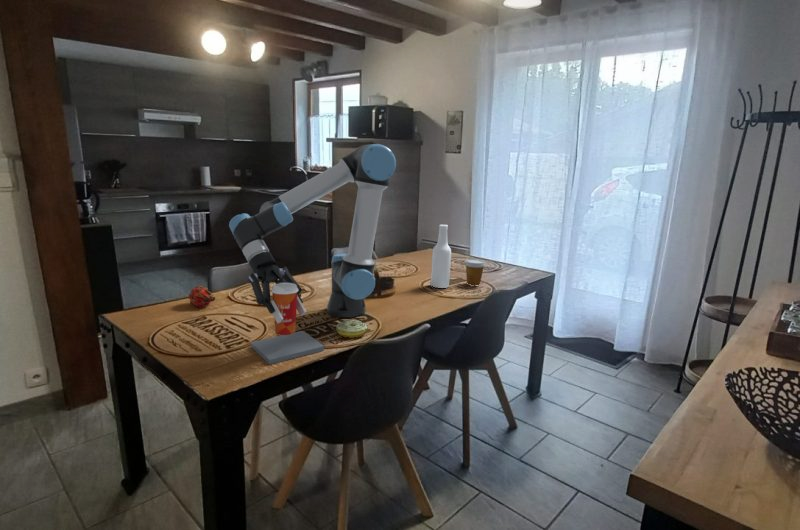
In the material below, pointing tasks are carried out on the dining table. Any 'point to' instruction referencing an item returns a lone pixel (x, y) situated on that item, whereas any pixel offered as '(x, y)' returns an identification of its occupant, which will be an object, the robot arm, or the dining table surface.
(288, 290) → the coffee cup
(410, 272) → the dining table surface
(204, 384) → the dining table surface
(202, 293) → the dragon fruit
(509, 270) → the dining table surface
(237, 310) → the dining table surface
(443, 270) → the alcohol
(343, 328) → the decorated donut
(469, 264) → the disposable coffee cup
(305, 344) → the slate board
